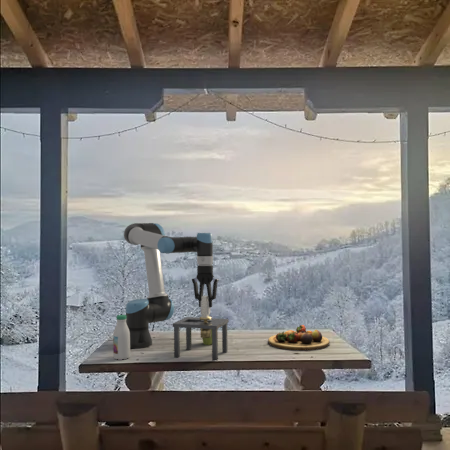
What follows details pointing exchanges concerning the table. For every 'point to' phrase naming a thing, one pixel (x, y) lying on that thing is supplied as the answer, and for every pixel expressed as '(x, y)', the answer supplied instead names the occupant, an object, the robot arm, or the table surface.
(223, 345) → the shelf
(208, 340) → the plant pot
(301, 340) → the wooden plate with food
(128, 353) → the milk bottle
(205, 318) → the brass hanging weight
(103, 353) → the table surface
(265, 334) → the table surface
